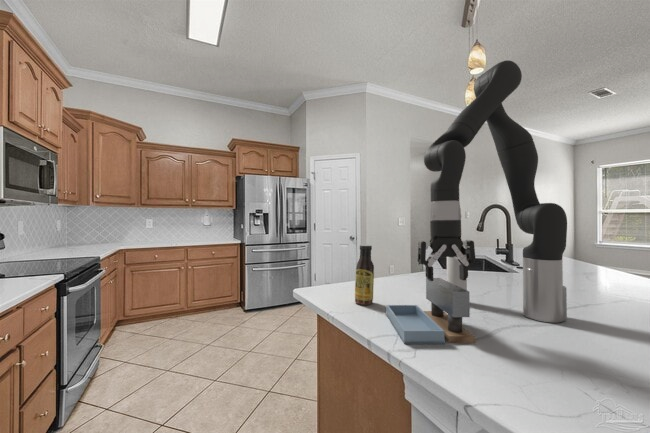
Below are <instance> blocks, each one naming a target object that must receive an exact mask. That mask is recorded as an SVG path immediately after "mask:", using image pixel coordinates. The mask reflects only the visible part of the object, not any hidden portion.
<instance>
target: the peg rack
mask: <svg viewBox="0 0 650 433" xmlns="http://www.w3.org/2000/svg"><path fill="white" fill-rule="evenodd" d="M430 305H431V306H430V307H431V310H423V311H424V312H425V313H426V314H427V315H428V316H429V317H430V318H431V319H432V320H433V321H434V322H435V323H436V324H437V325H439V326H440V327H441V328H442V329H443V330H444V340H446V341H447V343H449V344H450V343H453V344H454V343H455V344H457V343H459V344H460V343H466V344H469V343H470V344H472V343H476V335H474V333H472V332H471V331H469V330H468V329H466V328H465V327H464V326H463V317H452V316H450V315H449V314H448V313H446V312H445V311H443V310H442V309H440V308H439V307H438V306H436V305H435V304H433V303H432V302H431V304H430Z"/></svg>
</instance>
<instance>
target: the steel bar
mask: <svg viewBox="0 0 650 433" xmlns="http://www.w3.org/2000/svg"><path fill="white" fill-rule="evenodd" d="M470 296H471V295H470V291H469V290H465V289H463V288H460V287H458V286H456V285H454V284H452V283H450V282H448V281H447V280H446V279H443V278H440V277H433V281H429V280H428V278H426V277H425V299H426V300H428V301H429V302H432V303H433V304H435V305H436V306H438V307H439V308H440V309H442V310H443V311H444V312H445V313H446V314H447V315H448V314H449V315H450V316H452V317H462V318H470V317H471V316H470V315H471V313H470V312H471V311H470V310H471V309H470V306H471V305H470V304H471V303H470Z"/></svg>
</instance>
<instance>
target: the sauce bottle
mask: <svg viewBox="0 0 650 433" xmlns="http://www.w3.org/2000/svg"><path fill="white" fill-rule="evenodd" d="M372 249H373V247H372V245H370V244H360V245H359V259H358V261H357V263H356V268H355V279H354V280H355V282H354V283H355V284H354V302H355V303H356V304H358V305H361V306H362V305H363V306H369V305H372V304H373V301H374V285H375V284H374V280H375V272H374V271H375V266H374V263H373V260H372Z"/></svg>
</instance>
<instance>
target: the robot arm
mask: <svg viewBox="0 0 650 433" xmlns="http://www.w3.org/2000/svg"><path fill="white" fill-rule="evenodd" d="M522 77H523V76H522V71H521V68H520V66H519V65H518V64H517V63H515V62H514V61H512V60H503V61H500V62H498V63H496V64H495V65H493V66H492V67H491V68H489V69H488V70H486V71H485V72H483V73H482V74H481V75H479V76H478V77H477V78H476V79H475V81H474V83H473V93H474V96H475V98H474V99H473V100H472V101H471V102H470V103H469V104H468V105H467V106H466V107H464V108H463V109H462V111H461V112H460V113H459V114H458V115H457V116H456V117H455V119H454V120H453V121H452V122H451V124H450V126H449V127H448V128H447V130H446V131H445V132H443V134H442V135H441V134H440V136H439V137H438V138H437V139H436V140H434V142H432V143H431V144H430V146H429V147H428V148H427V149H426V151H425V154H424V156H423V163H424V166H425V168H426V169H428V170H429V171H431V172H437V173H439V172H440V174H439V177H437V178H436V179H435V180H433V181H431V183H430V207H429V222H430V223H429V225H430V226H429V227H430V228H429V230H430V240H429V241H423V240H419V241H418V243H417V244H418V247H417V250H418V251H417V263H418V264H421V265H424V268H425V270H424V271H425V279H426V278H428V280H429V281H433V278H434V266H433V265H434V263H436V262H437V261H438V260H439V258H447V257H455V258H456V259H457V260H458V262H459V263H460V264H461V265H459V273H460V279H461V280H466V278H467V279H468V278H469V265H473V264H476V261H477V260H476V251H475V250H476V249H475V242H474V240H471V239H466V240H462V209H461V203H460V183H461V181H462V176H463V172H464V169H465V164H466V158H467V156H466V150H465V148H466V147H467V146H468V145H469V144H471V143H472V141H473V140H474V138H475V137H476V136H477V134H478V133H479V131H480V130H481V129H482V127H483V126H484V124H485V123H487V126H488V129H489V132H490V134H491V137H492V140H493V144H494V146H495V150H496V153H497V156H498V159H499V162H500V165H501V168H502V171H503V174H504V176H505V180H506V184H507V186H508V189H509V194H510V197H511V202H512V207H513V213H514V217H515V221H516V224H517V226H518V228H519V229H520V230H521V231H522V232H524V233H525V234H529V235H533V236H532V242H531V243H530V244H528V245H527V246H525V247H523V249H522V314H523V316H524V317H526V318H528V319H531V320H535V321H538V322H545V323H555V324H556V323H558V324H559V323H562V322H566V321H568V318H567V317H568V314H567V313H568V308H567V305H568V303H567V301H568V300H567V294H568V293H567V291H568V290H567V287H566V286H565V285H564V284H563V283H564V280H563V278H564V277H563V276H564V275H563V274H564V271H563V255H564V253H565V250H566V247H567V239H568V238H567V237H568V236H567V234H568V232H567V231H568V218H567V213H566V211H565V209H564V208H563V207H562V206H561V205H559V204H558V203H554V202H543V203H540V201H539V198H538V195H537V192H536V188H535V180H536V174H537V170H538V166H539V155H538V151H537V147H536V145H535V141H534V138H533V136H532V134H531V133H530V132H529V130H527V129H525V127H523V126H522V125H520V124H519V123H518V122H516V121H515V120H513V119H512V118H511V117H510V116H509V115H508V113H507V112H506V110H505V107H504V106H503V102H504V101H505V100H506V99H507V98H508V97H509V96H510V95H511V94H512V93H514V92H515V90H517V88H518V87H519V85H521V82H522ZM462 246H464V248H465V250H466V259H465V258H464V255H463V254H462V253H461V252H460V249H461V247H462ZM429 248H430V249H431V252H430V253H429V254H428V257H426V256H427V250H428V249H429Z"/></svg>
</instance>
